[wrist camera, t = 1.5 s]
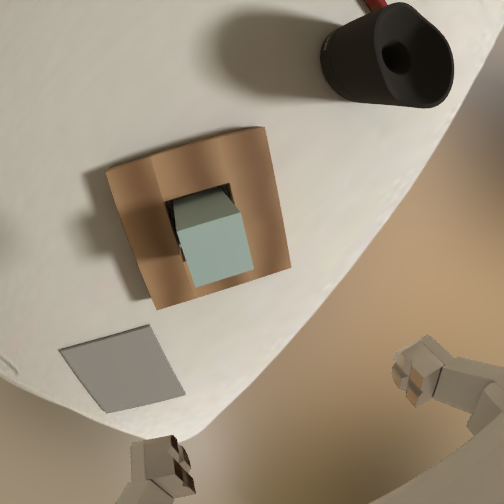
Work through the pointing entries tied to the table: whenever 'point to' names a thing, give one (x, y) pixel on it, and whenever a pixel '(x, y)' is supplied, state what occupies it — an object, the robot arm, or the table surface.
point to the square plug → (212, 236)
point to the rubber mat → (124, 370)
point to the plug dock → (190, 181)
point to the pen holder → (389, 59)
